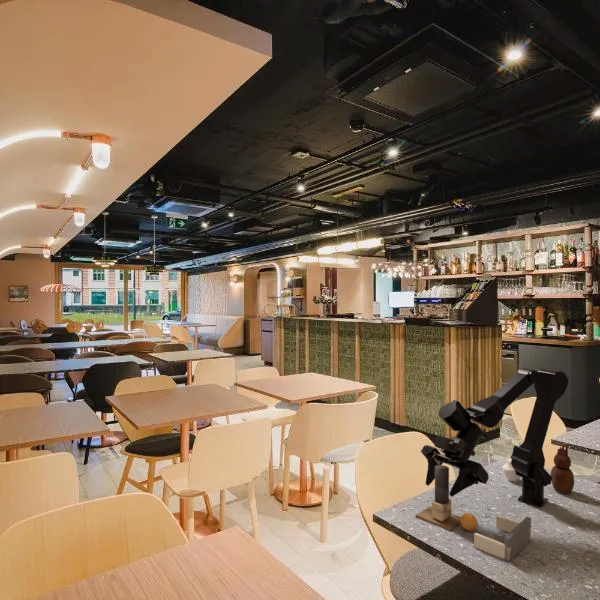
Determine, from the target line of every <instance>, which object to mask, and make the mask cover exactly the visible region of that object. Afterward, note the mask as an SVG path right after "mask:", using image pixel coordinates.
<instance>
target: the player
mask: <svg viewBox="0 0 600 600" xmlns="http://www.w3.org/2000/svg"><path fill="white" fill-rule="evenodd" d="M449 493H450V467H449V466H447V465H443V464H442V465H436V466H435V479H434V500H433V501H431V506H432V518H435V519H438V520H440V521H444V520H445V519H446V518H448V517H449V516H451V513H452V499H450V495H449Z"/></svg>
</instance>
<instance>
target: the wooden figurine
mask: <svg viewBox="0 0 600 600" xmlns="http://www.w3.org/2000/svg"><path fill="white" fill-rule="evenodd" d="M568 447H569V445H568V444H566V445H564V444H562V447H561V446H559V448H557V452H556V454H555V455H554V456H553V464H554V466H552V468H551V470H550V475H551V476H552V481H551V485H552V487H553V489H554V490H555V491H556V492H558V493H560V494H566V495H567V494H569V495H570V493H572V491H573V489H574V486H575V476H574V472H573V470H572V469H571V467H572V466H571V465H572V460H571V458H570V456H569V449H568Z"/></svg>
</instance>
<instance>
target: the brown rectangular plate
mask: <svg viewBox="0 0 600 600" xmlns="http://www.w3.org/2000/svg"><path fill="white" fill-rule="evenodd" d="M461 517H462V516H459V515H456V514H455V513H452V512H451V516H449V517H448V518H446V519H445V520H444V521H440V520H438V519H435V518H432V505H429V506H428V507H426V508H424V509H423V510H421V511H420V512H418V513H416V514H415V518H417V519H420V520H422V521H424V522H427V523H430V524H433V525H435V526H437V527H440V528H443V529H445V530H447V531H452V530H453V529H455V528H456V527H458V526H459V525H460V524H461Z"/></svg>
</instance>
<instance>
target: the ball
mask: <svg viewBox="0 0 600 600" xmlns="http://www.w3.org/2000/svg"><path fill="white" fill-rule="evenodd" d="M460 517H461V523H460V524H461V526H462V528H464V529H465V530H467V531H470V532H471V531H475V530H476V529H477V527H478V520H477V518H476V516H475V515H474V514H473V513H469V512H465V513H463V514H462V515H461V516H460Z"/></svg>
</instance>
